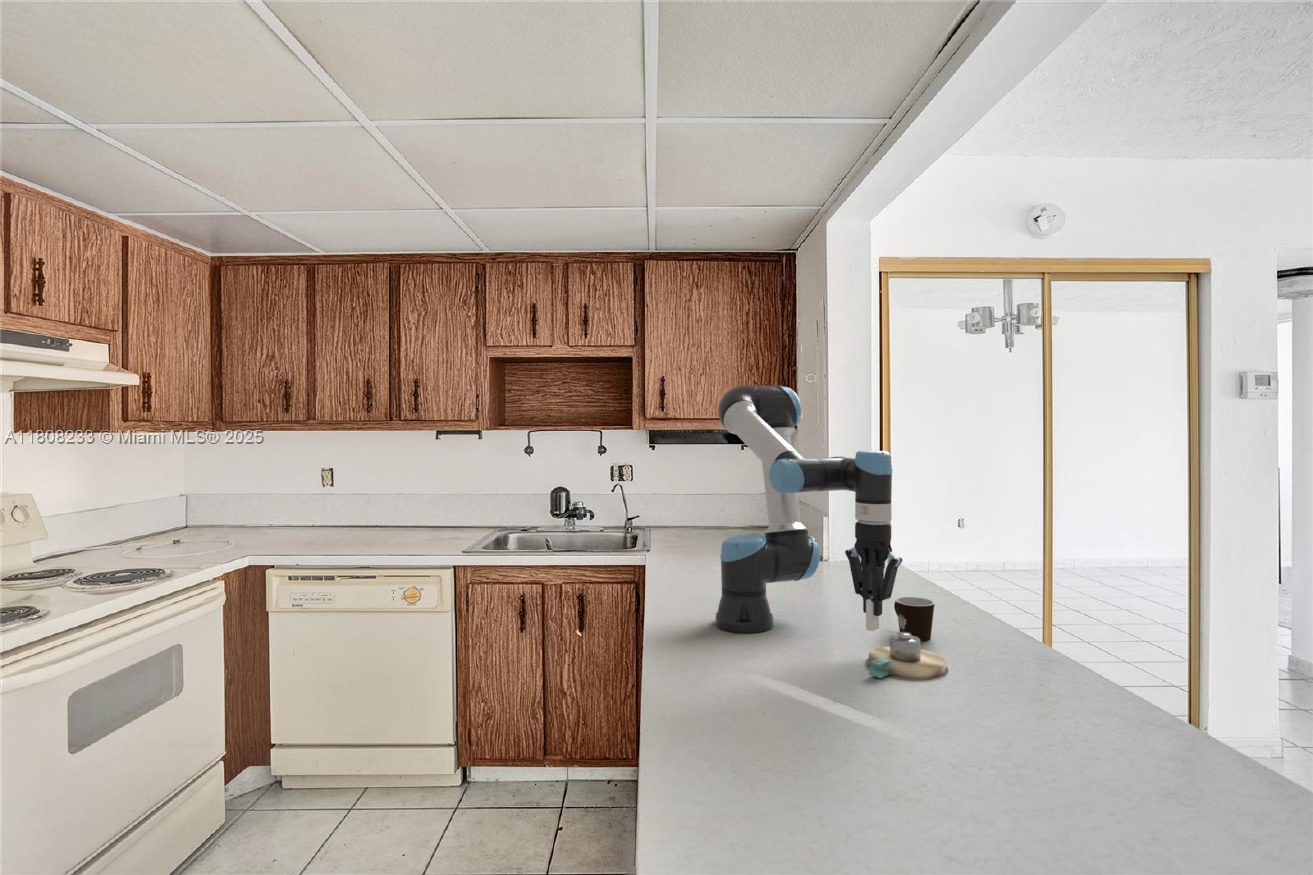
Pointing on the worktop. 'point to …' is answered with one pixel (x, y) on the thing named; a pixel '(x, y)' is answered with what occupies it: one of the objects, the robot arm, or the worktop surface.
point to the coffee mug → (915, 616)
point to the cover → (905, 648)
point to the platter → (905, 665)
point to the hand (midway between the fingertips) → (872, 628)
